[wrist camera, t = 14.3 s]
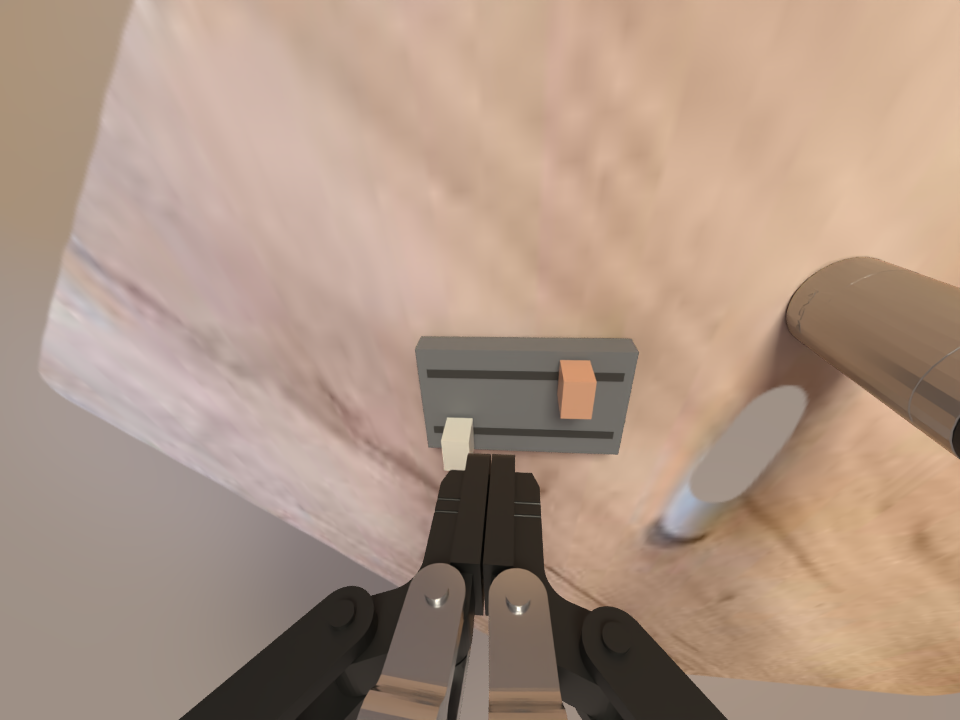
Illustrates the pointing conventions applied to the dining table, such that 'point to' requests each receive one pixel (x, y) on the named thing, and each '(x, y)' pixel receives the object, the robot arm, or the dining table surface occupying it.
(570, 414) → the terracotta fader
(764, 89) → the dining table surface
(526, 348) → the fader console
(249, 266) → the dining table surface
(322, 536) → the dining table surface
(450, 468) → the cream fader
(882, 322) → the robot arm
